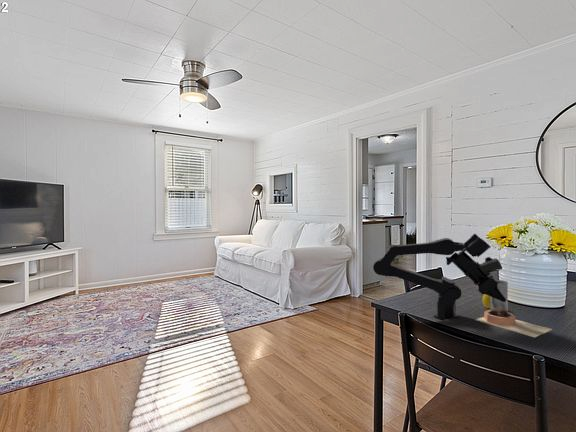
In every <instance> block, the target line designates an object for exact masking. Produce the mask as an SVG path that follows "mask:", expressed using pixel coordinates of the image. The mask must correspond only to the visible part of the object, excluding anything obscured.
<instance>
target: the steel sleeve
mask: <svg viewBox="0 0 576 432" xmlns="http://www.w3.org/2000/svg"><path fill="white" fill-rule="evenodd" d="M495 280H496V281H497V282H498V284H497V288H498V290H499V291H500V292H501V293H502V295H503V296H504V297H505V299H506V301H505V302H503V301H500V300H498V299H496V298H493V297H491V309H490V310H491V315H494V316H498V317H508V312H509V311H508V308H509V304H508V303H509V302H508V301H509V300H508V296H509V295H508V293H509V292H508V291H509V290H508V288H509V287H508V286H509V285H508V281H506V280H502V279H495Z"/></svg>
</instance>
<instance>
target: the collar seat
mask: <svg viewBox="0 0 576 432" xmlns="http://www.w3.org/2000/svg"><path fill="white" fill-rule="evenodd" d="M483 317H484V319H485V320H486V321H487V322H490V323H494V324H497V325H508V326H510V325H513V324H515V319H516V315H514V314H513V313H512V312H509V311H508V317H498V316H494V315H491V309H488V310H485V311H484V312H483Z"/></svg>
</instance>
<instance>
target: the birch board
mask: <svg viewBox="0 0 576 432" xmlns="http://www.w3.org/2000/svg"><path fill="white" fill-rule="evenodd" d="M475 321H477V322H481V323H483V324H487V325H491V326H494V327H498V328H501V329H504V330H508V331H511V332H514V333H517V334H520V335H525V336H528V337H532V338H537V337H539V336H541V335H544V334H547V333H548V332H551V331H553V328H549V327H546V326H541V325H538V324H534V323H529V322H526V321H522V320H519V319H516V318H515V324H513V325H510V326H508V325H497V324H494V323H490V322H487V321H486V320H485V319H484V316H482V317H478V318H476V319H475Z"/></svg>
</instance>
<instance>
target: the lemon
mask: <svg viewBox="0 0 576 432" xmlns="http://www.w3.org/2000/svg"><path fill="white" fill-rule="evenodd" d="M481 302H482V304H483V306H484V307H485V308H487V309H488V310H491V296H488V295H486V294H484V295H482V301H481Z"/></svg>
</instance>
